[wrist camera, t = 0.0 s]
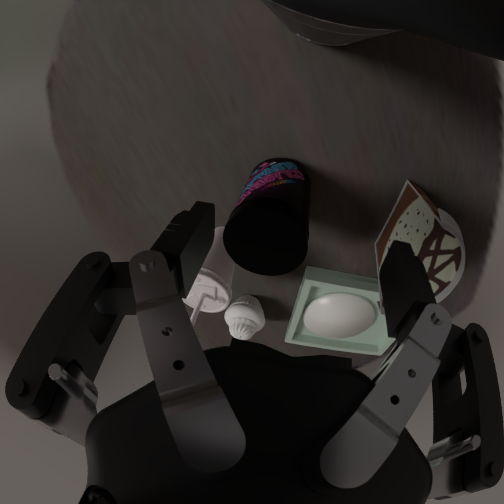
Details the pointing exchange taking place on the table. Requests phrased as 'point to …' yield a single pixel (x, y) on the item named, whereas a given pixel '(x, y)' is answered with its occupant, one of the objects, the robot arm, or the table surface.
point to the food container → (424, 240)
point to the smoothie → (212, 280)
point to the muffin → (245, 317)
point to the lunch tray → (338, 313)
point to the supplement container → (271, 219)
